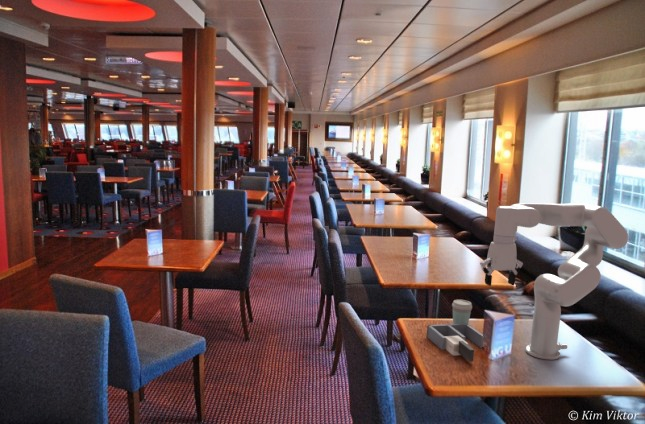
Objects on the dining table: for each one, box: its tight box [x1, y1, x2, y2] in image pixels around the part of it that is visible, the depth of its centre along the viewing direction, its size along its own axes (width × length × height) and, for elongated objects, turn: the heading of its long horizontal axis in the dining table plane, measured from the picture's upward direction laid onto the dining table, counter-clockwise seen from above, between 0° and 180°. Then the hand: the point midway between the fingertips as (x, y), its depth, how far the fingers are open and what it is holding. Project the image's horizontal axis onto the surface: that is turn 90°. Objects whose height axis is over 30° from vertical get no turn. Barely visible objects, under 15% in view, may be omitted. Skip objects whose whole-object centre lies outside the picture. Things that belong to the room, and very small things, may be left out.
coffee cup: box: [451, 299, 473, 325], centre depth 229 cm, size 8×9×12 cm
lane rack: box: [426, 323, 485, 351], centre depth 214 cm, size 18×14×5 cm
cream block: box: [444, 336, 475, 363], centre depth 201 cm, size 6×16×6 cm, turn 14°
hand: (499, 284), depth 198 cm, fingers open, 9 cm apart
